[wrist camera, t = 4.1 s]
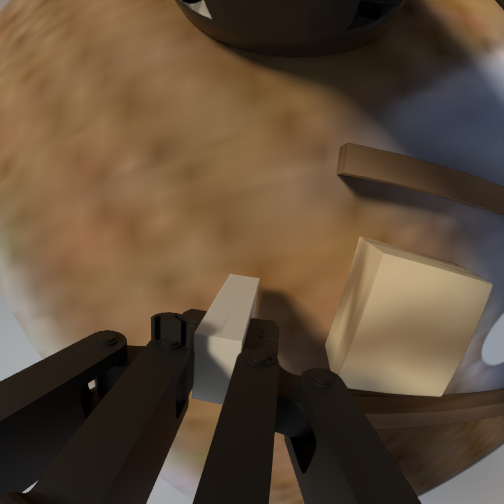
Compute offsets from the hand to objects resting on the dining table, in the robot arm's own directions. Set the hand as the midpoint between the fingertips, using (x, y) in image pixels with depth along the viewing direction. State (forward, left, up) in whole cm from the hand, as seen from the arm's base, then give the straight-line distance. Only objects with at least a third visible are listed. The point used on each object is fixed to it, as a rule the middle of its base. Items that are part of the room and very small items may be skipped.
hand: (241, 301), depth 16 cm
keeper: (0, +9, -2) cm, 9 cm away
